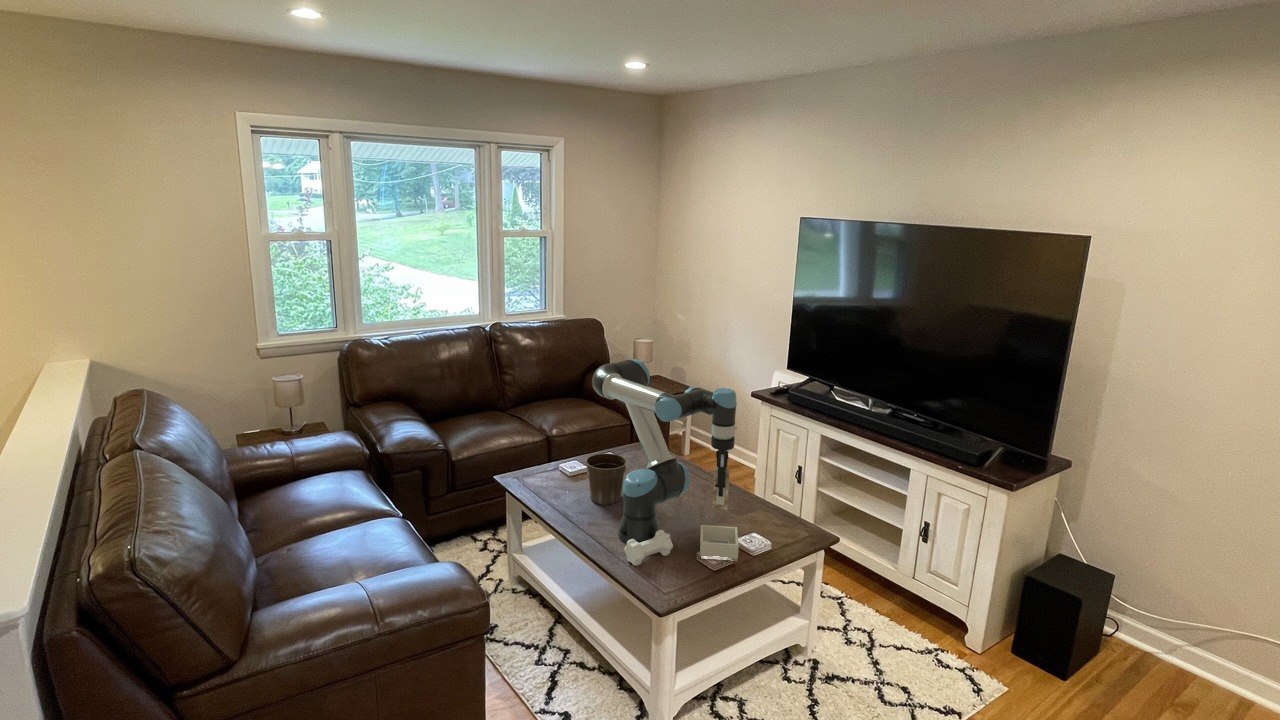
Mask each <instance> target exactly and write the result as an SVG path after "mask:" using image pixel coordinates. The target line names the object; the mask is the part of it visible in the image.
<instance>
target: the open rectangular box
mask: <svg viewBox="0 0 1280 720" xmlns="http://www.w3.org/2000/svg"><path fill="white" fill-rule="evenodd" d="M738 534H739V532H738V527H737V526H727V525H726V526H723V525H722V526H721V525H708V524H701V525H700V536H699V538H700V539H699V541H700V542H699V557H700V556H720V557H728V558H731V559H732V560H734V561H735V562H736V563H738V561H739V547H740V545H739V535H738ZM735 562H734V563H735Z"/></svg>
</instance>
